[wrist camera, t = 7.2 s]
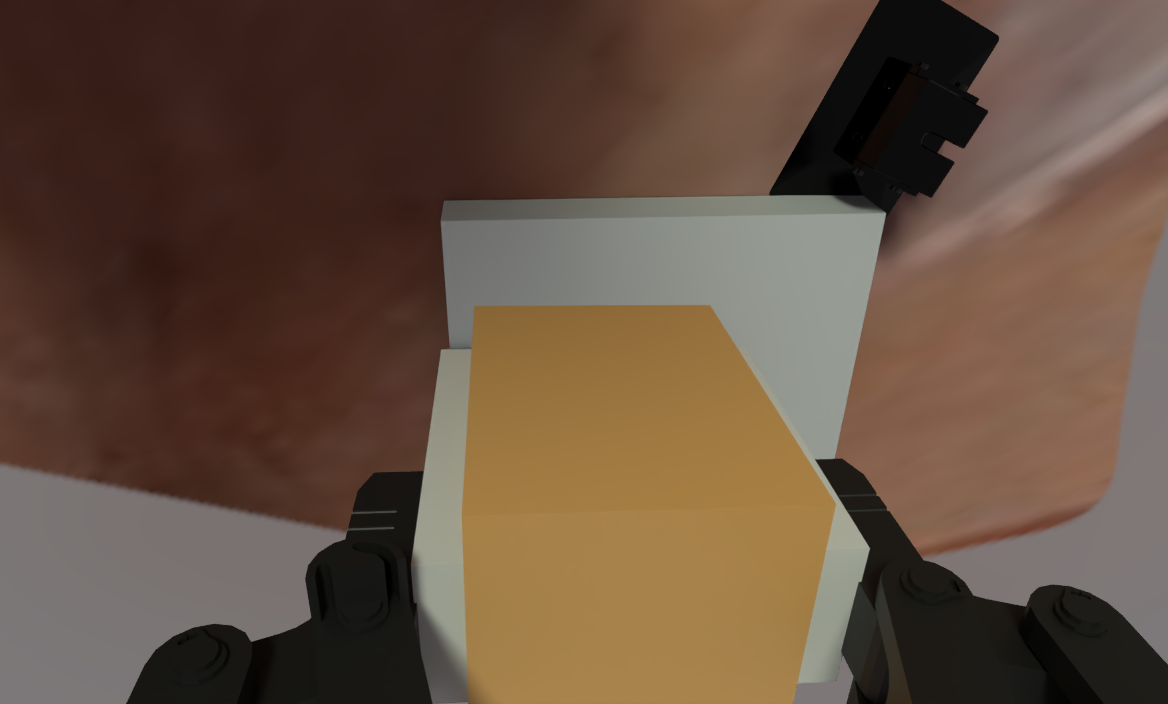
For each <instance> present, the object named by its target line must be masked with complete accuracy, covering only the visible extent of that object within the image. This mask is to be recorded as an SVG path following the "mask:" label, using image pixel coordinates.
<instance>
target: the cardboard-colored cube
mask: <svg viewBox="0 0 1168 704" xmlns="http://www.w3.org/2000/svg"><path fill="white" fill-rule="evenodd" d="M835 507H836V503H835V501H834V500H833V498H832V497H831V495H830V494H829V492H828V490H827V489H826V487H825V486H824V484H823V483H822V481H821V479H820V478H819V476H818V475H817V473H816V471H815V470H814V468H813V467H812V465H811V464H810V462H809V460H808V459H807V457H806V456H805V454H804V453H803V451H802V449H801V448H800V446H799V445H798V443H797V441H796V440H795V438H794V437H793V435H792V434H791V432H790V430H789V429H788V427H787V426H786V424H785V423H784V421H783V419H782V418H781V416H780V415H779V413H778V411H777V410H776V408H775V407H774V405H773V404H772V402H771V400H770V399H769V397H768V396H767V394H766V393H765V391H764V389H763V388H762V386H761V385H760V383H759V381H758V380H757V378H756V377H755V375H754V374H753V372H752V370H751V369H750V367H749V366H748V364H747V363H746V361H745V359H744V358H743V356H742V355H741V353H740V351H739V350H738V348H737V347H736V345H735V344H734V342H733V340H732V339H731V337H730V336H729V334H728V333H727V331H726V329H725V328H724V326H723V325H722V323H721V321H720V320H719V318H718V317H717V315H716V314H715V312H714V310H713V309H712V307H711V306H710V305H576V306H474V318H473V334H472V351H471V368H470V385H469V401H468V418H467V435H466V452H465V468H464V485H463V502H462V539H463V567H464V594H465V621H466V649H467V676H468V704H793V702H794V697H795V692H796V688H797V683H798V678H799V674H800V669H801V665H802V660H803V655H804V651H805V646H806V641H807V637H808V632H809V628H810V623H811V618H812V614H813V609H814V604H815V600H816V595H817V591H818V586H819V581H820V577H821V572H822V567H823V563H824V558H825V554H826V549H827V544H828V540H829V535H830V530H831V526H832V521H833V517H834V512H835Z"/></svg>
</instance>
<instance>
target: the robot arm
mask: <svg viewBox="0 0 1168 704" xmlns="http://www.w3.org/2000/svg"><path fill="white" fill-rule="evenodd" d="M736 347H737V348H738V350H739V351H740V353H741V355H742V356H743V358H744V359H745V361H746V363H747V364H748V366H749V367H750V369H751V370H752V372H753V374H754V375H755V377H756V378H757V380H758V381H759V383H760V385H761V386H762V388H763V389H764V391H765V393H766V394H767V396H768V397H769V399H770V400H771V402H772V404H773V405H774V407H775V408H776V410H777V411H778V413H779V415H780V416H781V418H782V419H783V421H784V423H785V424H786V426H787V427H788V429H789V430H790V432H791V434H792V435H793V437H794V438H795V440H796V441H797V443H798V445H799V446H800V448H801V449H802V451H803V453H804V454H805V456H806V457H807V459H808V460H809V462H810V464H811V465H812V467H813V468H814V470H815V471H816V473H817V475H818V476H819V478H820V479H821V481H822V483H823V484H824V486H825V487H826V489H827V490H828V492H829V494H830V495H831V497H832V498H833V500H834V501H835V503H836V507H835V512H834V517H833V521H832V526H831V530H830V535H829V540H828V544H827V549H826V554H825V558H824V563H823V567H822V572H821V577H820V581H819V586H818V591H817V595H816V600H815V604H814V609H813V614H812V618H811V623H810V628H809V632H808V637H807V641H806V646H805V651H804V655H803V660H802V665H801V669H800V674H799V678H798V683H815V682H833V681H836V679H837V675H838V671H839V668H840V663H841V660H842V656H844V658H845V660H846V662H847V664H848V666H849V668H850V670H851V672H852V674H853V676H854V678H853V681H852V685H851V689H850V693H849V697H848V700H847V704H1168V664H1167V663H1166V662H1165V661H1164V660H1163V659H1162V658H1161V657H1160V656H1159V655H1158V654H1157V653H1156V652H1155V650H1154V649H1153V648H1152V647H1151V646H1150V645H1149V644H1148V643H1147V642H1146V641H1145V639H1144V638H1143V637H1142V636H1141V635H1140V634H1139V633H1138V632H1137V631H1136V630H1135V629H1134V628H1133V626H1131V624H1130V623H1129V622H1128V621H1127V620H1126V619H1125V618H1124V617H1123V615H1121V614H1120V613H1119V612H1118V611H1117V610H1115V609H1114V608H1113V607H1112V606H1111V605H1110V604H1108V603H1107V602H1105V601H1103V600H1101V599H1100V598H1098V597H1096V596H1094V595H1092V594H1091V593H1088V592H1085V591H1082V590H1079V589H1076V588H1073V587H1070V586H1061V585H1048V586H1043V587H1039V588H1038V589H1036V590H1035V591H1034V592H1033V593H1032V594H1031V596H1030V598H1029V601H1028V603H1027V606H1026V607H1024V606H1019V605H1014V604H1009V603H1004V602H999V601H993V600H988V599H984V598H980V597H976V596H973V594H972V593H971V591H970V590H969V588H968V587H967V585H966V583H965V582H964V581H963V580H961V579H960V578H959V577H958V576H957V575H955V574H954V573H953V572H952V571H950V570H948V569H946V568H944V567H942V566H940V565H938V564H936V563H932V562H928V561H924V560H923V559H922V558H921V556H920V555H919V553H918V552H917V550H916V549H915V547H914V546H913V545H912V543H911V542H910V540H909V539H908V537H907V536H906V535H905V533H904V532H903V530H902V529H901V527H900V526H899V524H898V523H897V522H896V520H895V519H894V517H893V516H892V514H891V513H890V512H889V511H887V507H886V506H885V504H884V503H883V501H882V500H881V499H880V497H879V496H876V491H875V490H874V489H873V487H872V486H871V484H870V483H869V481H868V480H867V478H866V477H865V476H864V474H862V473H861V472H860V471H858V470H857V469H856V468H854V467H853V466H851V465H850V464H849V463H847V462H846V461H845V460H843V459H814V457H813V456H812V454H811V453H810V451H809V449H808V448H807V446H806V445H805V443H804V441H803V440H802V438H801V436H800V435H799V433H798V432H797V430H796V428H795V427H794V425H793V424H792V422H791V420H790V419H789V417H788V415H787V414H786V412H785V411H784V409H783V407H782V406H781V404H780V403H779V401H778V399H777V398H776V396H775V395H774V393H773V391H772V390H771V388H770V386H769V385H768V383H767V382H766V380H765V378H764V377H763V375H762V374H761V372H760V370H759V369H758V367H757V366H756V364H755V362H754V361H753V359H752V357H751V356H750V354H749V353H748V351H747V349H746V348H745V346H736ZM471 351H472V349H442V350H441V354H440V361H439V368H438V376H437V383H436V390H435V397H434V404H433V411H432V418H431V425H430V433H429V440H428V447H427V454H426V461H425V468H424V471H418V472H380V473H374V474H373V475H372V476H371V477H370V478H369V479H368V480H367V481H366V482H365V483H364V484H363V486H362V487H361V488H360V489H359V490H358V492H357V496H356V500H355V504H354V508H353V515H351V519H350V523H349V530H348V531H347V535H346V539H345V540H342V541H340V542H336V543H334V544H332V545H330V546H329V547H327V548H325V549H324V550H322V551H321V552H319V553H318V554H317V555H316V556H315V558H314V559H313V560H312V562H311V563H310V564H309V565H308V569H307V573H306V578H305V580H306V586H307V593H308V599H309V605H310V612H311V619H310V620H308V621H306V622H305V623H303V624H301V625H300V626H298V627H296V628H294V629H291V630H288V631H286V632H283V633H280V634H277V635H274V636H270V637H267V638H264V639H260V640H257V641H253V642H251V641H250V640H249V638H248V636H247V635H246V633H245V632H243V631H241V630H239V629H237V628H235V627H233V626H230V625H220V624H211V625H205V626H200V627H195V628H192V629H189V630H187V631H185V632H183V633H180V634H178V635H176V636H174V637H172V638H171V639H169V640H168V641H167V642H165V643H164V644H163V645H162V646H160V647H159V648H158V649H156V650H155V652H154V653H153V654H152V656H151V657H150V659H149V660H148V662H147V663H146V664H145V666H144V668H143V670H142V672H141V674H140V676H139V678H138V680H137V682H136V684H135V687H134V689H133V691H132V693H131V695H130V697H129V699H128V701H127V703H126V704H438V703H456V702H468V676H467V649H466V621H465V594H464V567H463V539H462V502H463V485H464V468H465V452H466V435H467V418H468V401H469V385H470V368H471Z"/></svg>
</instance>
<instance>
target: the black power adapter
mask: <svg viewBox="0 0 1168 704" xmlns="http://www.w3.org/2000/svg"><path fill="white" fill-rule="evenodd" d="M998 41H999V36H998V35H996V34H995V33H993V32H992V31H990V30H988V29H987V28H985V27H984V26H982V25H980V24H979V23H977V22H975V21H974V20H972V19H971V18H969V17H967V16H966V15H964V14H963V13H961V12H959V11H958V10H956V9H955V8H953V7H951V6H950V5H948V4H946V3H945V2H943V1H942V0H879V2H878V4H877V6H876V7H875V9H874V11H873V13H872V14H871V16H870V18H869V20H868V21H867V23H866V25H865V27H864V28H863V30H862V32H861V34H860V35H859V37H858V39H857V41H856V42H855V44H854V46H853V47H852V49H851V51H850V53H849V54H848V56H847V58H846V60H845V61H844V63H843V65H842V67H841V68H840V70H839V72H838V74H837V75H836V77H835V79H834V81H833V82H832V84H831V86H830V88H829V89H828V91H827V93H826V95H825V96H824V98H823V100H822V102H821V103H820V105H819V107H818V109H817V110H816V112H815V114H814V115H813V117H812V119H811V121H810V122H809V124H808V126H807V128H806V129H805V131H804V133H803V135H802V136H801V138H800V140H799V142H798V143H797V145H796V147H795V149H794V150H793V152H792V154H791V156H790V157H789V159H788V161H787V163H786V164H785V166H784V168H783V170H782V171H781V173H780V175H779V177H778V178H777V180H776V182H775V183H774V185H773V187H772V189H771V190H770V193H769V194H770V196H782V195H825V196H864V197H865V198H867V199H868V200H869V201H871V202H872V203H873V204H875V205H876V206H877V207H879V208H880V209H881V210H883V211H884V212H885V213H886V217H887V216H888V214H889V213H890V211H891V210H892V208H893V206H894V205H895V203H896V202H897V200H898V199H899V197H900V195H901V194H902V192H903V191H905V192H907V193H909V194H911V195H913V196H915V197H916V196H917V194H918V193H919V192H920V193H922V194H924V195H926V196H928V197H930V198H931V197H933V195H934V193H935V192H936V190H937V189H938V187H939V186H940V184H941V183H942V181H943V180H944V178H945V177H946V175H947V174H948V172H949V171H950V169H951V168H952V166H953V165H954V161H952V160H950V159H948V158H946V157H944V156H942V155H940V154H938V151H939V150H940V148H941V146H942V145H943V143H944V142H945V140H947V141H949V142H951V143H953V144H955V145H957V146H959V147H961V148H965V146H966V145H967V143H968V142H969V140H970V139H971V137H972V136H973V134H974V133H975V131H976V130H977V128H978V127H979V125H980V124H981V122H982V121H983V119H984V118H985V116H986V115H987V113H988V110H986V109H984V108H982V107H980V106H978V105H976V103H977V102H978V100H979V98H977V97H975V96H973V95H971V94H969V93H968V92H967V90H968V89H969V87H970V85H971V84H972V82H973V81H974V79H975V78H976V76H977V74H978V73H979V71H980V70H981V68H982V67H983V65H984V63H985V62H986V60H987V59H988V57H989V56H990V54H991V52H992V51H993V49H994V48H995V46H996V44H997V43H998ZM886 217H885V219H886Z"/></svg>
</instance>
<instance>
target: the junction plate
mask: <svg viewBox="0 0 1168 704" xmlns="http://www.w3.org/2000/svg"><path fill="white" fill-rule="evenodd" d="M885 217H886V213H885V212H884V211H883V210H881V209H880V208H879V207H877V206H876V205H875V204H873V203H872V202H871V201H869V200H868V199H867V198H865V197H864V196H825V195H782V196H716V197H650V198H585V199H519V200H453V201H444V203H443V209H442V216H441V232H442V246H443V260H444V274H445V288H446V302H447V316H448V329H449V343H450V348H448V349H472V334H473V318H474V306H576V305H710V306H711V307H712V309H713V310H714V312H715V314H716V315H717V317H718V318H719V320H720V321H721V323H722V325H723V326H724V328H725V329H726V331H727V333H728V334H729V336H730V337H731V339H732V340H733V342H734V344H735V345H736V346H745V348H746V349H747V351H748V353H749V354H750V356H751V357H752V359H753V361H754V362H755V364H756V366H757V367H758V369H759V370H760V372H761V374H762V375H763V377H764V378H765V380H766V382H767V383H768V385H769V386H770V388H771V390H772V391H773V393H774V395H775V396H776V398H777V399H778V401H779V403H780V404H781V406H782V407H783V409H784V411H785V412H786V414H787V415H788V417H789V419H790V420H791V422H792V424H793V425H794V427H795V428H796V430H797V432H798V433H799V435H800V436H801V438H802V440H803V441H804V443H805V445H806V446H807V448H808V449H809V451H810V453H811V454H812V456H813V457H814V459H834V458H835V454H836V449H837V444H838V439H839V435H840V430H841V425H842V420H843V416H844V411H845V406H846V401H847V397H848V392H849V387H850V383H851V378H852V373H853V368H854V364H855V359H856V354H857V349H858V345H859V340H860V335H861V330H862V326H863V321H864V316H865V312H866V307H867V302H868V297H869V293H870V288H871V283H872V278H873V274H874V269H875V264H876V259H877V255H878V250H879V245H880V241H881V236H882V231H883V226H884V222H885Z"/></svg>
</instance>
